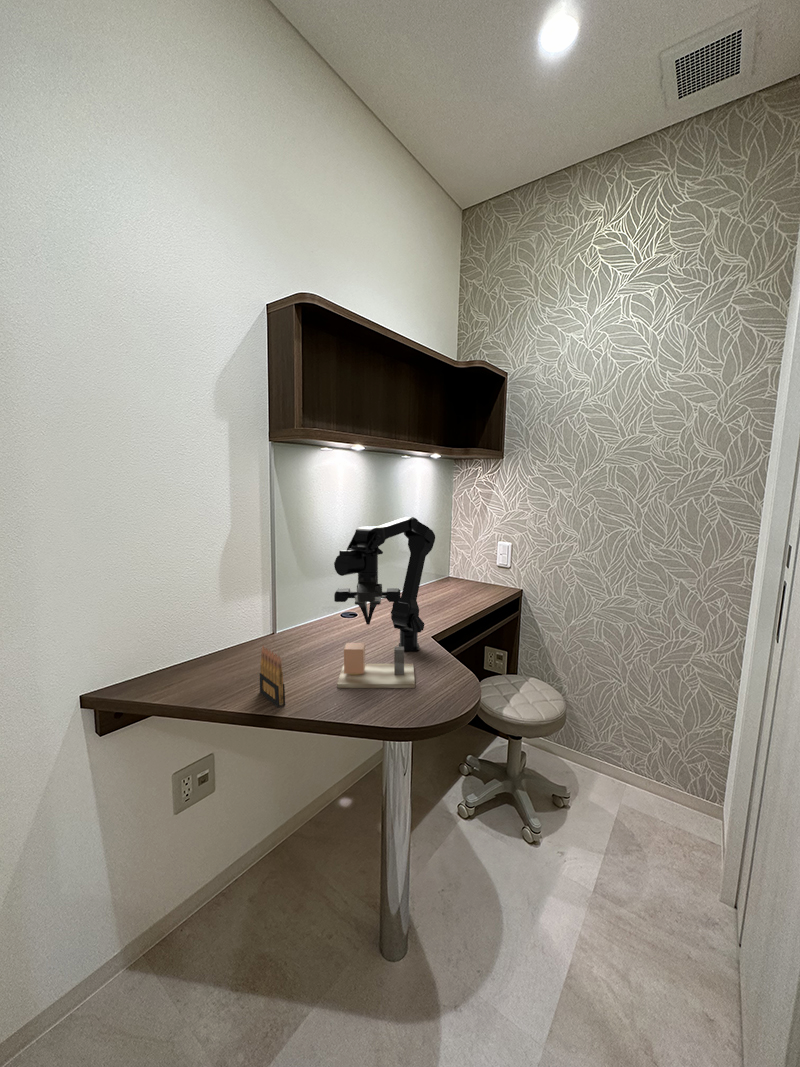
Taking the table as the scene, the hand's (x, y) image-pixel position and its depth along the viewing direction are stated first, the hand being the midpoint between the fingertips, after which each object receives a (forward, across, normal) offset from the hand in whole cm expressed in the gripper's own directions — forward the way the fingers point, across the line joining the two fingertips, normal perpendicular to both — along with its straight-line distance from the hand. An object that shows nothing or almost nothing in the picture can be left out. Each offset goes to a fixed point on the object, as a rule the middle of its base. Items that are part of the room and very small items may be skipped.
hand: (368, 624), depth 132 cm
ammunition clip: (+12, -22, -22) cm, 33 cm away
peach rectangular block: (+10, -3, -9) cm, 14 cm away
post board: (+12, +3, -9) cm, 15 cm away
